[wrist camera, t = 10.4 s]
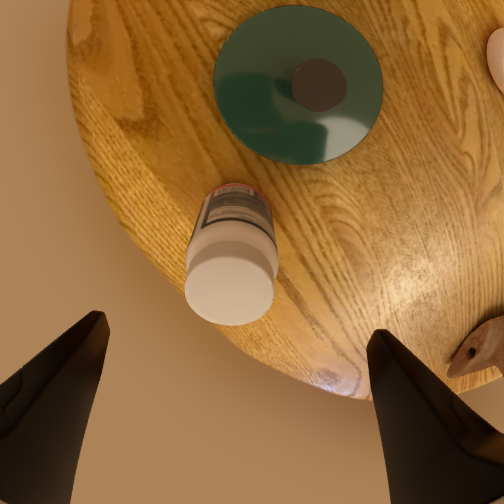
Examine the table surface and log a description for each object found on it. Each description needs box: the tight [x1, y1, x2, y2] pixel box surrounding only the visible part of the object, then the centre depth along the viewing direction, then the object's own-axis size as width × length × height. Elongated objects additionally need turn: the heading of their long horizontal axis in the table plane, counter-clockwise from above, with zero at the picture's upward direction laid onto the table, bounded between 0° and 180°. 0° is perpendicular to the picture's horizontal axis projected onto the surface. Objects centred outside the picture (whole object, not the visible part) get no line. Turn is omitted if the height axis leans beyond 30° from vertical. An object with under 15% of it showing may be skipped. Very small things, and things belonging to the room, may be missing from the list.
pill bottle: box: [185, 183, 279, 326], centre depth 17 cm, size 5×5×8 cm
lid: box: [213, 5, 383, 165], centre depth 13 cm, size 10×10×6 cm
